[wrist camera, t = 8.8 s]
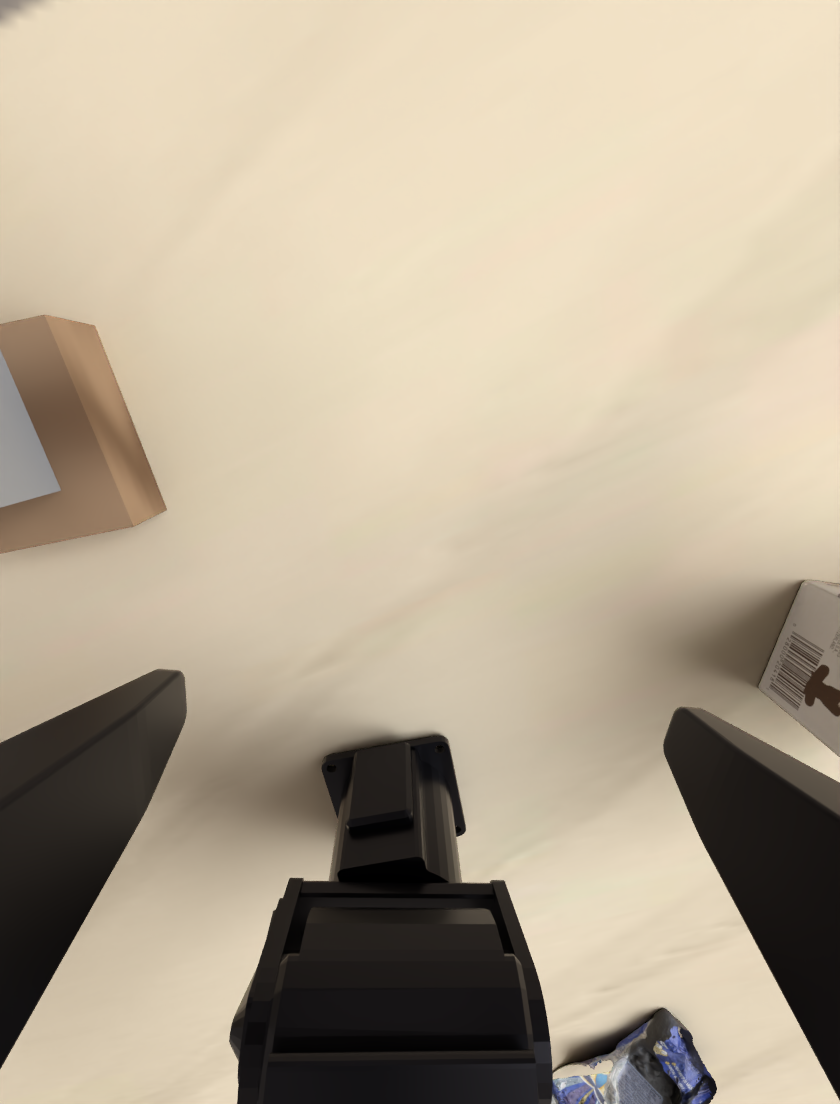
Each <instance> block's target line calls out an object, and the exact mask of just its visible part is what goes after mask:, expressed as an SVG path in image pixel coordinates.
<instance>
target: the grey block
mask: <svg viewBox="0 0 840 1104" xmlns="http://www.w3.org/2000/svg"><path fill="white" fill-rule="evenodd" d="M58 491H61V489H60V486H59V484H58V482H57V479H56V477H55V475H54V472H53V470H52V468H51V466H50V463H49V461H48V459H47V456H46V454H45V452H44V449H43V447H42V445H41V442H40V440H39V438H38V435H37V433H36V431H35V429H34V426H33V424H32V422H31V419H30V417H29V415H28V412H27V410H26V408H25V405H24V403H23V401H22V398H21V396H20V394H19V392H18V389H17V387H16V385H15V382H14V380H13V378H12V375H11V373H10V371H9V368H8V366H7V364H6V361H5V359H4V357H3V354H2V352H1V350H0V508H1V507H4V506H8V505H12V504H15V503H19V502H22V501H26V500H29V499H33V498H36V497H40V496H43V495H47V494H50V493H54V492H58Z"/></svg>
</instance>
